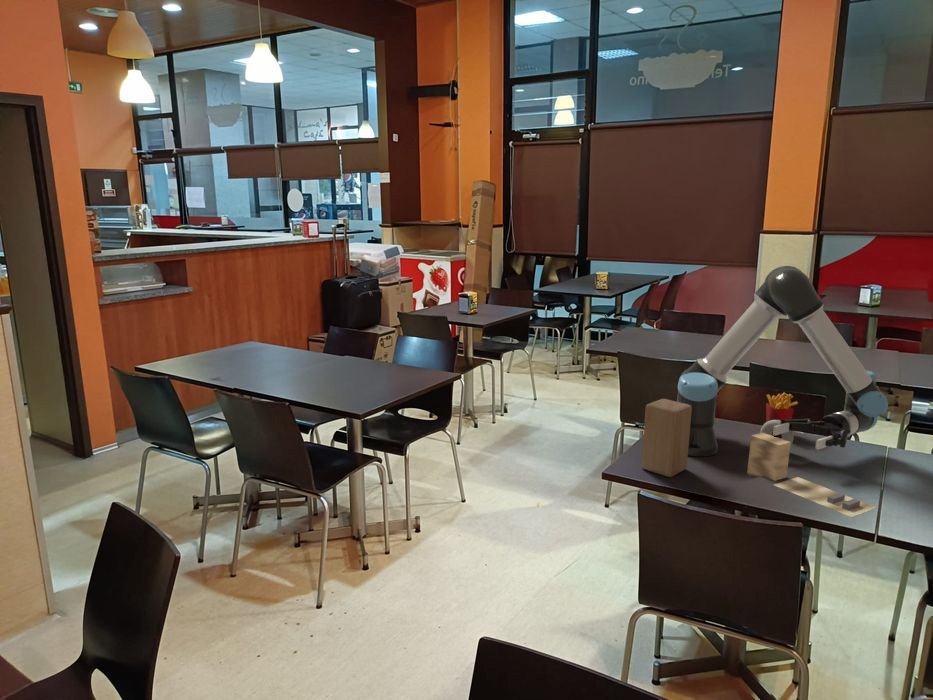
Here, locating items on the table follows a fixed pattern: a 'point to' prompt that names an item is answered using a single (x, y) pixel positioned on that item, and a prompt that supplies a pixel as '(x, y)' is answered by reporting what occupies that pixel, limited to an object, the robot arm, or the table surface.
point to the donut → (768, 430)
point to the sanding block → (768, 456)
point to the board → (821, 496)
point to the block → (666, 437)
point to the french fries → (779, 408)
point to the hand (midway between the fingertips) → (794, 437)
